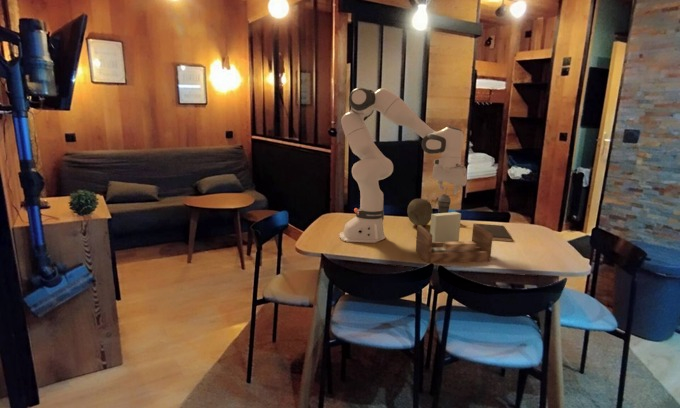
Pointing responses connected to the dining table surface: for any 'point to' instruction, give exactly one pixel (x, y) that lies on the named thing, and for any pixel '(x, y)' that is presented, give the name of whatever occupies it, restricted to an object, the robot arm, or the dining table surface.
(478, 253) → the walnut rack
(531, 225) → the dining table surface
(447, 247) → the offcut stack
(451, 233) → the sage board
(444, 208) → the beverage cup
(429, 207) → the cantaloupe
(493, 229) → the hardcover book
